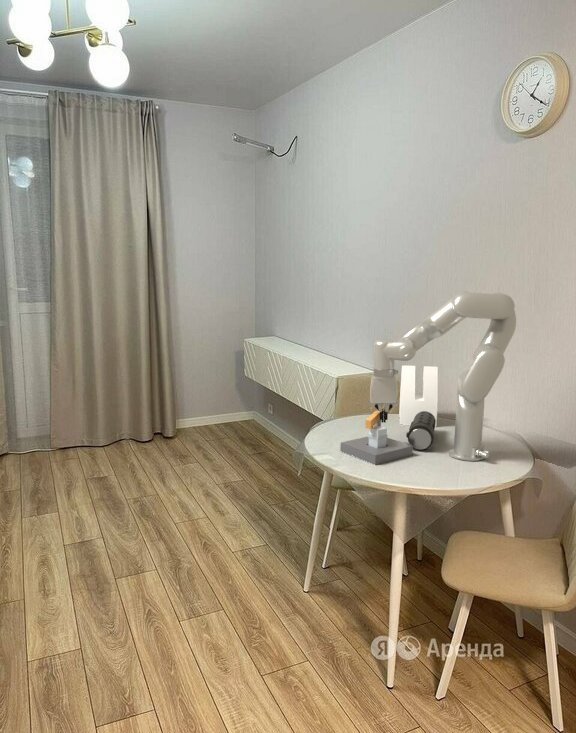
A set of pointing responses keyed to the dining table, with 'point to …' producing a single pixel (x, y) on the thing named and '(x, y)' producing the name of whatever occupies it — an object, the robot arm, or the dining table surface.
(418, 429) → the muzzle brake
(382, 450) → the socket block
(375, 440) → the plug
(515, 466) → the dining table surface
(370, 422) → the try square
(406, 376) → the white u-shaped block
